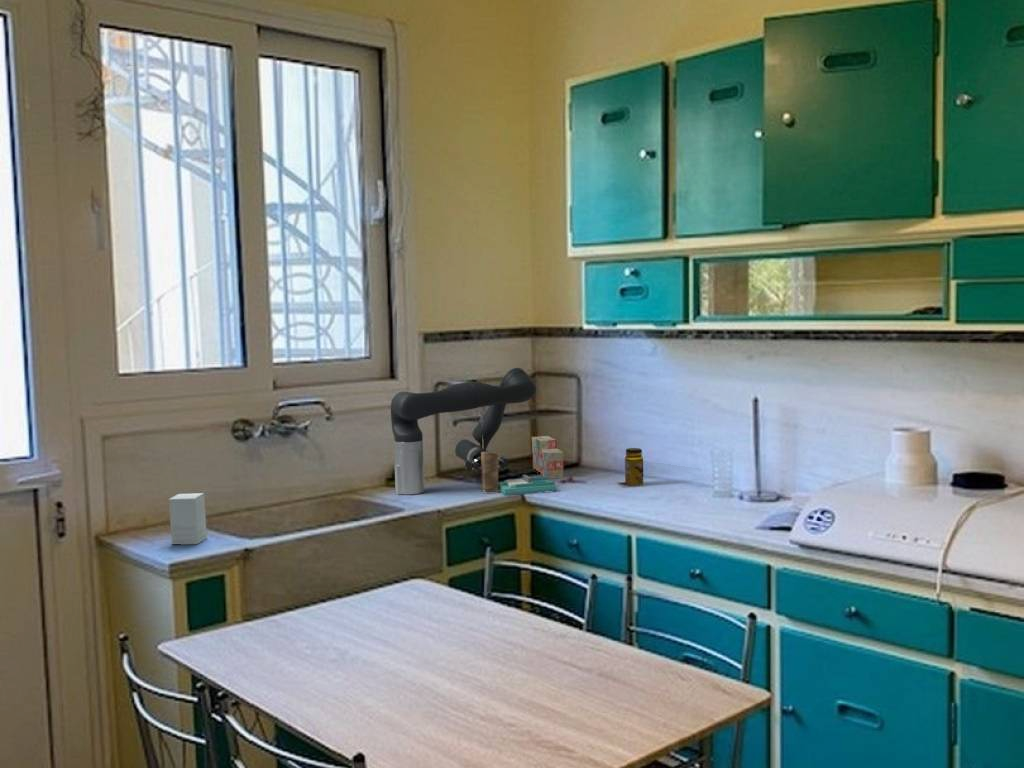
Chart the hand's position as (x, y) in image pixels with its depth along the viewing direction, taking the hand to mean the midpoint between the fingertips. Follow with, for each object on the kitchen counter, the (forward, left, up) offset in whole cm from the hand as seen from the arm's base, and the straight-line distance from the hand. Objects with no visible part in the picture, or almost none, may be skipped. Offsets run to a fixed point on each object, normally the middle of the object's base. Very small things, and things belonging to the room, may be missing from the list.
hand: (490, 466), depth 329 cm
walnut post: (0, +1, -9) cm, 9 cm away
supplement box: (-92, -36, -9) cm, 99 cm away
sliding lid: (+9, -1, -6) cm, 11 cm away
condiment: (+47, -5, -9) cm, 48 cm away
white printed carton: (+27, +26, -9) cm, 39 cm away
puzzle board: (+11, -1, -9) cm, 14 cm away
